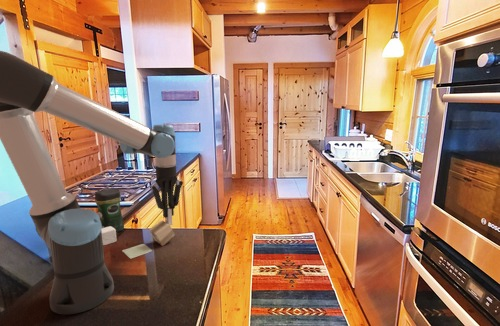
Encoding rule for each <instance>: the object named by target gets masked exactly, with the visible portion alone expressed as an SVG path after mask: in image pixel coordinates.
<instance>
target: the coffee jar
mask: <svg viewBox="0 0 500 326" xmlns="http://www.w3.org/2000/svg"><path fill="white" fill-rule="evenodd" d="M121 199H122V195H121V191H120V189H118V188H116V187H111V188H106V189H102V190H97V191H95V193H94V203H95V204H96V206H97V214H98V215H99V217H100V221H101V224H102V228H105V227H109V226H111V227H113V228H114V229H115V230H116V233H118V232H121V231H123V230H124V229H125V224H124V219H123V215H122V210H121Z"/></svg>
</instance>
